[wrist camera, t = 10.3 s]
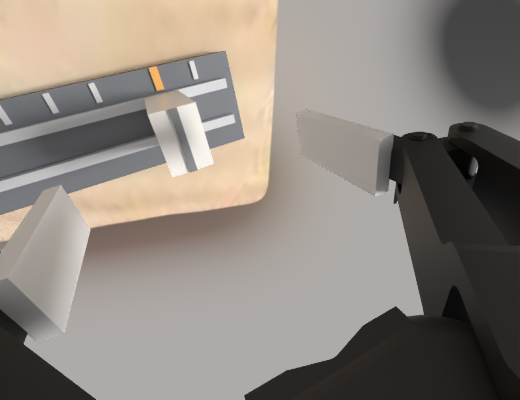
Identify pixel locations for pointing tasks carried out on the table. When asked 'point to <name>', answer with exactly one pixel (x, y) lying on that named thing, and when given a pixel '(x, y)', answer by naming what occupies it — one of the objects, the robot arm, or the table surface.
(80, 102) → the slider board
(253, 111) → the table surface
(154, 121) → the fader knob
